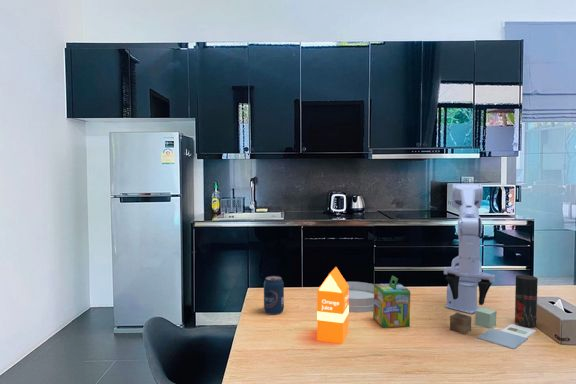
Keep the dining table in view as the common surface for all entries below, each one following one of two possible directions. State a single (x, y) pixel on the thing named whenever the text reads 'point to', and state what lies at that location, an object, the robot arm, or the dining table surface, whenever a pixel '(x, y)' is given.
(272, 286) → the soda can
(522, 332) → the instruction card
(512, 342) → the baseplate
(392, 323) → the chalk box
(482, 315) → the block sage
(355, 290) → the dish
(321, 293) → the orange juice
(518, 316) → the deodorant
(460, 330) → the block walnut
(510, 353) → the dining table surface
